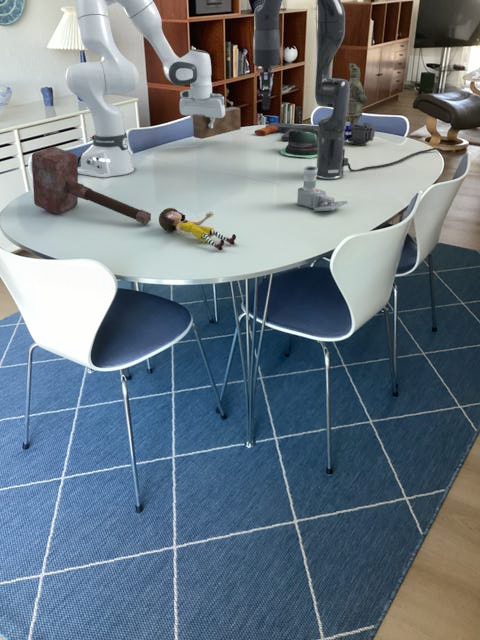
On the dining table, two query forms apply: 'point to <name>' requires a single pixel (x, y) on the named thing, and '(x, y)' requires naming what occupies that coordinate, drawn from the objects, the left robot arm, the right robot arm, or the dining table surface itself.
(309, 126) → the submachine gun
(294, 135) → the green brimmed hat
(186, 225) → the figurine
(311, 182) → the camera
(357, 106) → the statue
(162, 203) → the dining table surface
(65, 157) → the sledgehammer
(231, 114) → the bar
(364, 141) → the toy
